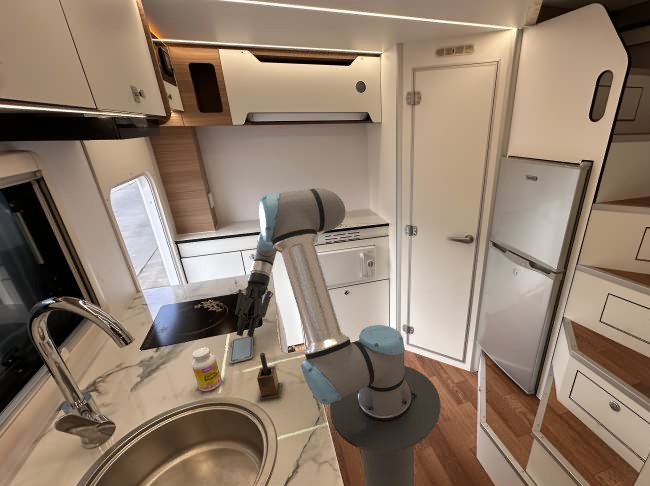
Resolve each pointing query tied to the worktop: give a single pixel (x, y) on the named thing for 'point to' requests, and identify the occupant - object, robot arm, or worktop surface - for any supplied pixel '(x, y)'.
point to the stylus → (264, 364)
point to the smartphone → (241, 349)
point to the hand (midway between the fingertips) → (244, 335)
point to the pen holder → (268, 384)
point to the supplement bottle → (205, 369)
